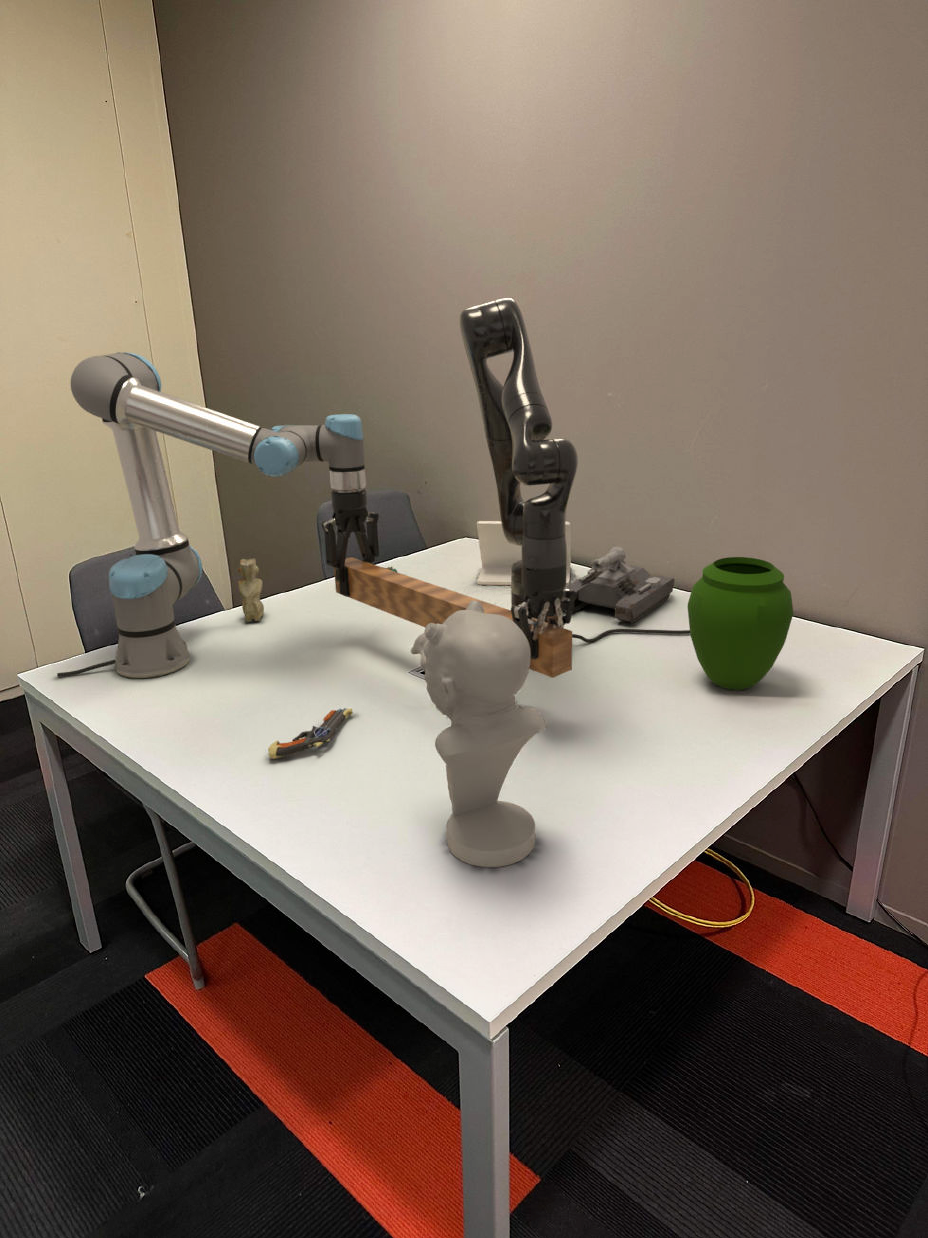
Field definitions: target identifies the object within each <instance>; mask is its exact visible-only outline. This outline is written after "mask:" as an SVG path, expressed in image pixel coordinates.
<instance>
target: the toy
mask: <svg viewBox="0 0 928 1238" xmlns="http://www.w3.org/2000/svg"><path fill="white" fill-rule="evenodd" d="M626 557H627V556H626V551H625V549H624V548H622V547H621V546H614V547H612V548H611V549H610V550H609V552H608V553H607V554H605V555H604V556H601V557H599V558H598V559H597V557H596V558H594V559H593V560H592V561H590V562H589V563H590V564H591V565H592V567H591V568H590V569H589V570H587V573H586V575H584V576H582V577H580V578H578V579H577V580H575V581H573V582H570V583H569V585H567V586H565V588H566V589H570V590H573V591H575V599H574V605H573V610H572V613H575V612H577V611H579V610H581V609H582V608H585V607H586V606H588V605H592V606H598V607H602V608H603V607H604V608H609V609H613V610H614V618H615V619H617V620H618V621H621V622H626V623H631V624H634V623H635V622H637V621H638V620H640V619H641V618H642V617H644V616H645V615H647V614H648V613H650V612H651V611H652V610H654V609H655V608H657V607H659V606H660V605H661V604H663V603H664V602H666V601H667V600H669V598H670V596H671V594H672V593H673V591H674V585H675V580H676V579H675V578H673V577H668V576H663V575H656V576H655V577H654V576H651V574H650V573H649V572H648V571H647V570H646V568H644V567H641V566H635V565H629V564H628V563H627V562H626V561H625V559H626ZM564 611H566V610H565V609H564Z"/></svg>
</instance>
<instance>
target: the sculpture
mask: <svg viewBox="0 0 928 1238" xmlns="http://www.w3.org/2000/svg"><path fill="white" fill-rule="evenodd" d="M239 565H240V566H239V567H238V568H237V572H238V574H240V575H241V576H242V579H240V580H238V582H237V585H238V591H239V596H241V597H242V603H241V608H242V612H243V614H244V619H245V622H246V623H247V622H252V621H253V620H254V622H258V621H260V620H261V617H262V616H263V615H264V613H265V606H264V604H263V601H261V593H262V590H263V580H262V579H260V578H257V577H256V576H257V575H258V574H259V572H260V568H259V566H257V563H256V558H250V559H245V558H241V559H240V561H239Z"/></svg>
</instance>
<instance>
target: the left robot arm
mask: <svg viewBox="0 0 928 1238" xmlns="http://www.w3.org/2000/svg"><path fill="white" fill-rule="evenodd" d="M70 391H71V394H72V396H73V398H74V400H75V402H76V403H77V404H78V406H79V407H80V408H82V409H83V410H84V411H85V412H86V413H89V414H91V415H92V416H94V417H97V418H100V419H101V420H102V424H103V425H105V426H107V427H108V428H109V429H110V430H111V431H112V433H113V437H114V441H115V445H116V449H117V453H118V459H119V461H120V466H121V470H122V474H123V477H124V481H125V485H126V488H127V493H128V497H129V501H130V506H131V510H132V513H133V517H134V521H135V526H136V530H137V534H138V540H137V542H136V543H135V545H134V552H135V555H133V556H129V557H127V558H122V559H120V560H118V561H117V562H115V563H114V564H113V565H112V566H111V567H110V569H109V571H108V578H109V581H108V587H109V592H110V595H111V600H112V604H113V610H114V616H115V619H116V620H115V621H116V625H117V631H118V643H117V648H116V653H115V659H112V660H108V661H107V660H106V661H104V662H101V663H97V664H93V665H90V666H86V667H84V668H81V669H76V670H70V671H62V672H57V673H56V676H57V678H62V677H69V676H74V675H75V676H76V675H81V674H84V673H87V672H90V671H93V670H96V669H100V668H104V667H107V666H108V667H109V666H111V665H114V666H115V670H116V673H117V674H118V675H120V676H122V677H125V678H129V679H149V678H157V677H161V676H165V675H169V674H172V673H175V672H177V671H179V670H181V669H182V668H184V667H185V666H187V665H188V664H189V662H190V653H189V649H188V646H187V643H186V642H185V641H184V640H183V638H182V636H181V634H180V632H179V630H178V629H177V625H176V620H175V619H176V618H175V613H174V607H173V605H175V604H176V603H177V602H178V601H179V600H180V599H182V598H183V597H184V596H186V595H188V594H190V592H192V591H193V590H194V588H195V587H196V586H197V585H198V583H200V580H201V577H202V574H203V562H202V558H201V556H200V554H199V553H198V551H197V550H196V549H194V548H193V547H192V546H191V545H190V541H189V537H188V535H186V534H184V533H183V532H181V531H180V529H179V526H178V521H177V520H178V519H177V515H176V512H175V511H176V510H175V508H174V503H173V499H172V495H171V490H170V486H169V482H168V477H167V473H166V469H165V464H164V460H163V457H162V452H161V451H162V450H161V448H160V443H159V439H158V434H157V432H158V433H159V434H163V435H165V436H170V437H171V438H174V439H178V440H180V441H183V442H186V443H189V444H192V445H194V446H198V447H201V448H204V449H207V450H210V451H213V452H215V453H218V454H222V455H225V456H228V457H230V458H233V459H236V460H239V461H242V462H245V463H248V464H250V465H253V466H256V467H257V468H258V470H259V471H260V472H261V473H262V474H264V475H266V476H267V477H271V478H273V477H274V478H276V477H277V478H278V477H282V476H286V475H288V474H289V473H292V471H294V470H295V469H296V468H297V467H299V466H301V465H302V464H303V463H306V462H307V463H309V462H311V463H312V462H328V471H329V481H330V482H329V483H330V488H331V492H330V497H331V507H332V510H333V513H332V516H331V519H329V520H328V521H322V522H321V527H322V530H323V532H324V533H323V534H324V546H325V560H326V561H325V563H326V565H327V566H329V567H331V568H333V569H334V568H335V572H336V580H337V581H338V582H339V588H340V594H339V595H341V596H343V597H345V598H349V597H348V596H350V593H349V579H348V568H347V567H344V566H345V559H346V558H347V551H348V545H349V538H350V537H351V534H352V533H354V536H355V539H356V543H357V545H358V549H359V553H360V555H361V558H362V559H361V560H362V561H365V562H368V563H371V564H373V563H374V562H375V561H376V558H378V557H379V556H380V546H379V533H378V532H379V531H378V521H379V513H377V512H374V511H369V510H368V509H367V506H368V497H367V495H368V494H367V490H366V486H367V479H366V467H365V447H364V445H365V444H364V440H365V439H364V438H365V437H364V433H363V425H362V419H361V417H360V416H358V415H357V414H350V413H349V414H348V413H342V414H330V415H328V416H327V417H326V418H325V423H324V424H320V425H319V424H318V425H311V424H310V425H307V424H305V425H302V424H300V425H299V424H298V425H297V424H295V425H293V424H284V425H274V426H273V427H271V429H270V428H269V429H268V428H265V427H262V426H260V425H258V424H254V423H252V422H248V421H246V420H242V419H240V418H237V417H235V416H231V415H228V414H226V413H223V412H220V411H217V410H215V409H211V408H208V407H205V406H202V405H199V404H196V403H194V402H191V401H188V400H185V399H182V398H179V397H177V396H173V395H172V394H167V393H165V392H162V379H161V376H160V374H159V372H158V370H157V368H156V367H155V365H154V364H153V363H152V362H151V361H150V360H148V359H147V358H145V357H144V356H142V355H140V354H138V353H133V352H126V351H125V352H118V351H117V352H115V353H109V354H103V355H93V356H90V357H87V358H85V359H83V360H81V361H80V362H78V364H77V365H76V366H75V367H74V369H73V371H72V373H71V377H70ZM365 524H366V527H365ZM336 527H337V529H336ZM335 530H336V531H335ZM336 536H337V537H336Z"/></svg>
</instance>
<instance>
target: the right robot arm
mask: <svg viewBox="0 0 928 1238" xmlns="http://www.w3.org/2000/svg"><path fill="white" fill-rule="evenodd" d="M459 316H460V317H459V327H460V335H461V338H462V342H463V346H464V350H465V353H466V357H467V361H468V363H469V367H470V371H471V374H472V378H473V382H474V385H475V389H476V393H477V398H478V402H479V408H480V413H481V419H482V425H483V429H484V435H485V439H486V443H487V448H488V453H489V457H490V460H491V465H492V467H493V468H492V469H493V472H494V473H493V474H494V480H495V483H496V484H495V485H496V490H497V497H498V505H499V515H500V521H501V523H502V529H503V533H504V536H505V538H506V540H507V541H508V542H509V543H511V544H514V545H520V546H522V560H519V561H516V562H515V563H513V565H512V567H511V585H510V588H511V589H510V597H511V599H510V603H511V604H510V606H511V607H510V610H511V613H512V618H513V622H514V623H515V624H516V625H517V626H518V627H519V628H520V629H521V630H522V632H523V633H524V634H525V636H526V638H527V640H528V643H529V646H530V652H531V653H530V655H531V656H530V658H531V659H534V660H535V659H537V658H538V657H539V639H537V638H538V635H539V631H540V628H541V627H543V624H544V622H547V623H550V624H553V625H556V626H559V627H562V628H564V627H565V625H566V624H567V625H569V624H570V623H571V621H572V614H573V612H572V610H573V605H574V599H575V591H573V590H570V589H566V588H565V587H566V563H567V545H566V537H565V526H566V522H567V519H566V517H567V516H566V515H567V507H568V502H569V498H570V495H571V492H572V488H573V484H574V481H575V478H576V475H577V471H578V464H579V457H578V452H577V449H576V447H575V445H574V444H573V443H572V442H571V441H570V440H569V439H566V438H551V439H546V438H547V437H549V435H550V434H551V432H552V429H553V420H552V417H551V414H550V411H549V409H548V406H547V404H546V401H545V398H544V395H543V393H542V390H541V387H540V383H539V380H538V376H537V371H536V366H535V359H534V355H533V352H532V347H531V344H530V343H531V342H530V339H529V334H528V332H527V328H526V324H525V319H524V317H523V314H522V311H521V309H520V307H519V304H518V303H517V302H516V301H515V300H514V299H513V298H511V297H506V298H505V297H504V298H499V299H495V300H492V301H489V302H484V303H481V304H478V305H474V306H471V307H467V308H465V309H463V310H461V313H460V315H459ZM512 352H513V357H512V362H511V365H510V368H509V371H508V374H507V376H506V378H505V381H504V384H502V383H501V382H500V381H499V380H498V378H497V377H496V376H495V374H494V373H493V372H492V370H491V368H490V367H489V365H488V363H487V361H488V359H491V358H495V357H499V356H502V355H506V354H510V353H512ZM521 484H522V485H523V486H538V485H539V486H540V485H548V487H547V489H546V490H545V492H543V493H542V494H539V495H537V496H534V497H531V498H529V499H527V500H526V501H525V500H524V499H523V497H522V492H521ZM564 609H565V610H564ZM564 611H565V613H564ZM532 618H535V619H538V620H537V621H535V620H533V619H532ZM532 625H533V626H534V628H533V632H532V631H531V627H532ZM615 633H639V634H665V635H667V634H668V635H687V634H688V635H690V629H686V630H683V629H681V630H680V629H679V630H677V629H676V630H671V629H668V630H667V629H643V628H642V629H641V628H613V629H608V630H606V631H603V632H602V633H599V634H598V635H597V636H595V637H593V638H587V637H584V636H582V635H580V634H577V633H576V634H575V633H572V639H577V640H578V639H579V640H581V641H583V642H584V643H586V644H587V643H588V644H590V643H595V642H597V641H599V640H601V639H603V638H604V637H605V636H607V635H610V634H615Z"/></svg>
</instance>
